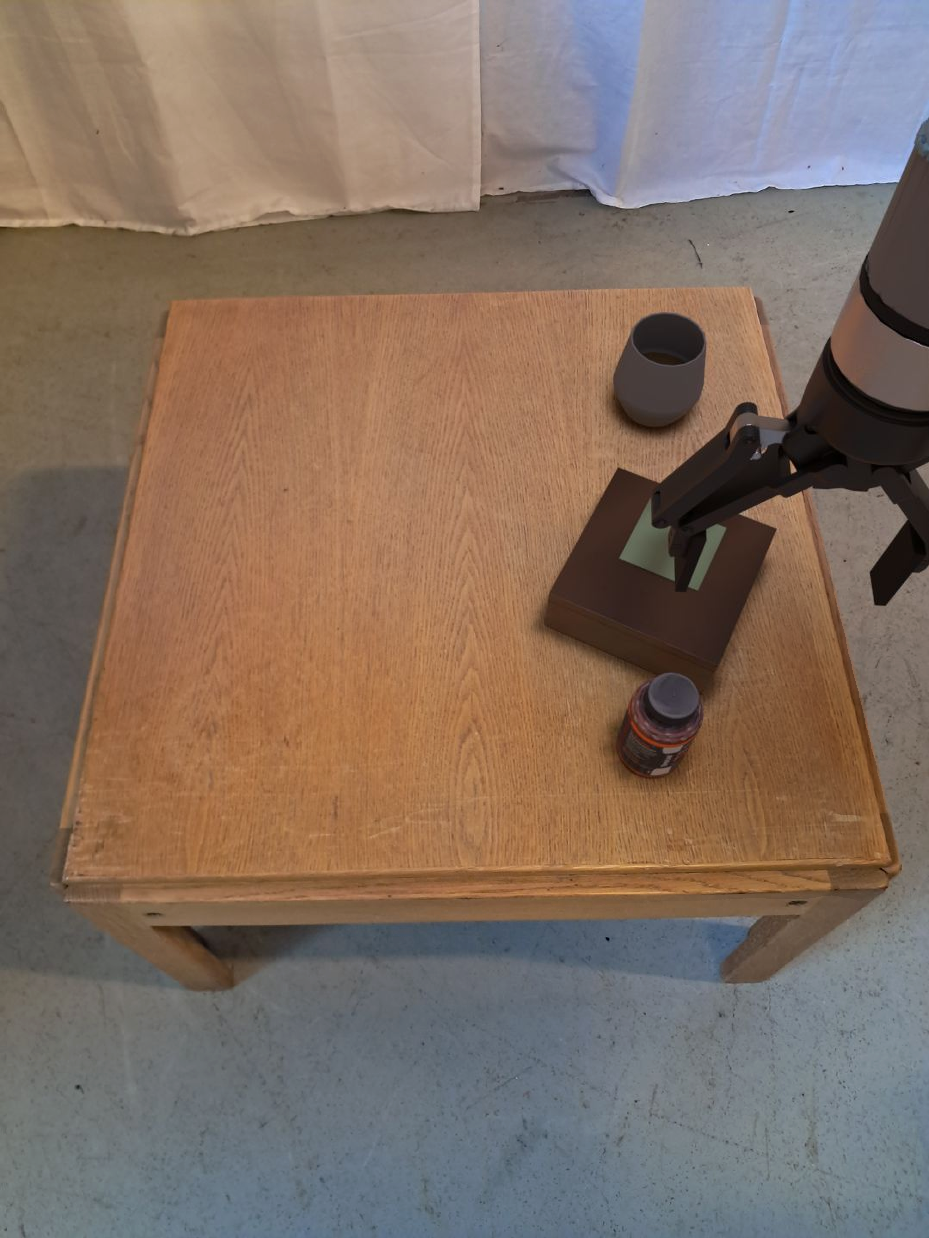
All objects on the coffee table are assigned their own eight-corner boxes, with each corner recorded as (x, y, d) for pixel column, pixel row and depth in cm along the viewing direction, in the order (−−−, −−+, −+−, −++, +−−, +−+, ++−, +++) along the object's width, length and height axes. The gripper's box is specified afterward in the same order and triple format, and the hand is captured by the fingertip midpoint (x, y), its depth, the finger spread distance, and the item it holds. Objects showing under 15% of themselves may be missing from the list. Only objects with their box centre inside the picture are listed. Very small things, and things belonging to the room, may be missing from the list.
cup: (604, 435, 98) (617, 368, 89) (611, 371, 102) (624, 301, 94) (693, 445, 97) (715, 378, 88) (696, 380, 102) (717, 310, 93)
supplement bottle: (676, 788, 79) (705, 740, 69) (609, 769, 80) (627, 719, 70) (688, 726, 82) (717, 672, 72) (623, 708, 83) (643, 652, 73)
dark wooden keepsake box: (759, 563, 90) (777, 527, 84) (703, 695, 83) (719, 665, 78) (610, 503, 94) (618, 465, 88) (544, 625, 87) (548, 592, 81)
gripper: (1144, 319, 46) (951, 549, 65) (648, 293, 47) (599, 526, 66) (1187, 434, 42) (970, 642, 61) (650, 403, 44) (597, 616, 62)
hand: (777, 582), depth 64 cm, fingers open, 13 cm apart
